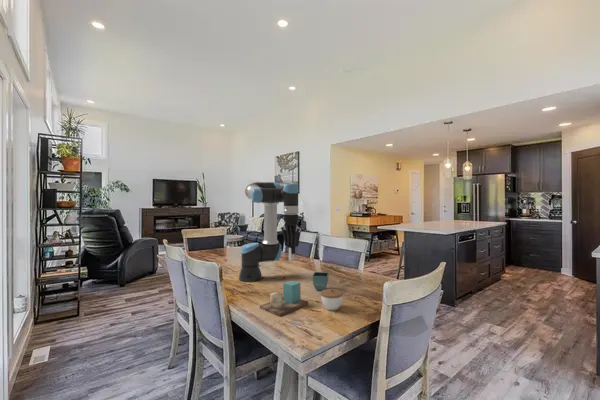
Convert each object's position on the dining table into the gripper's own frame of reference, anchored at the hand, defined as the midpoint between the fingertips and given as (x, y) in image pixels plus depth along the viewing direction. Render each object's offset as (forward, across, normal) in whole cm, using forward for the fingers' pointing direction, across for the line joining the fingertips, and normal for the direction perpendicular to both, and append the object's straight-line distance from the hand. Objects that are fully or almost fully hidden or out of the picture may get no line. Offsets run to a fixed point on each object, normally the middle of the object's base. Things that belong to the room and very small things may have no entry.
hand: (291, 260), depth 149 cm
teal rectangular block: (+21, 0, 0) cm, 21 cm away
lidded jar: (+23, +19, +8) cm, 31 cm away
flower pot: (+23, -3, +27) cm, 36 cm away
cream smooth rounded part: (+22, 0, -11) cm, 25 cm away
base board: (+22, 0, -6) cm, 23 cm away
